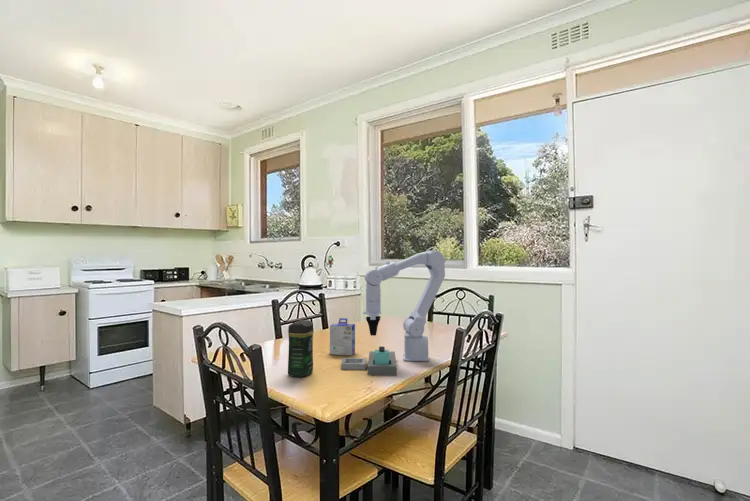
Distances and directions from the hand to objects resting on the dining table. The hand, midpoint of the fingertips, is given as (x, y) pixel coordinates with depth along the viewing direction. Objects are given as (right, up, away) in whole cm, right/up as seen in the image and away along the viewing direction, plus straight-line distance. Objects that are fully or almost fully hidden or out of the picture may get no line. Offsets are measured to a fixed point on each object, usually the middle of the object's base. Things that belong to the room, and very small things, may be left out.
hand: (373, 335), depth 157 cm
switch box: (+3, -10, -8) cm, 13 cm away
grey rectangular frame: (-7, -10, -8) cm, 15 cm away
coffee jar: (-25, -10, -17) cm, 32 cm away
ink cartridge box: (-13, -10, +10) cm, 19 cm away
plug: (+3, -10, -13) cm, 17 cm away
